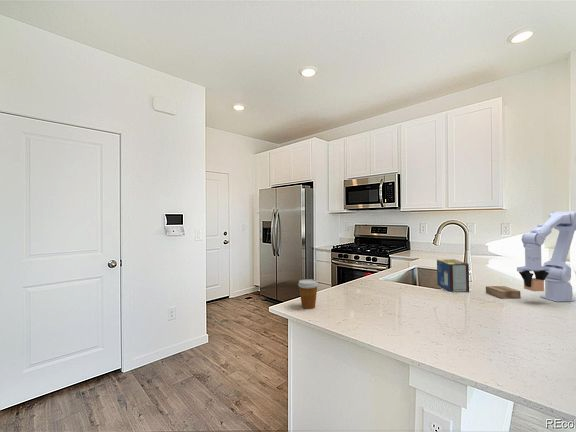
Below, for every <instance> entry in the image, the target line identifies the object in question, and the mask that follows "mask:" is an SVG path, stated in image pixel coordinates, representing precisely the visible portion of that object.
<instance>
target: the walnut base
mask: <svg viewBox="0 0 576 432" xmlns="http://www.w3.org/2000/svg"><path fill="white" fill-rule="evenodd" d="M485 294H487V295H490V296H492V297H495V298H498V299H500V300H501V299H502V300H506V299H507V300H509V299H511V300H512V299H521V298H522V297H521V290H518V289H514V288H511V287H508V286H507V285H506V286H505V285H486V286H485Z"/></svg>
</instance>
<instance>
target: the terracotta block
mask: <svg viewBox="0 0 576 432" xmlns="http://www.w3.org/2000/svg"><path fill="white" fill-rule="evenodd" d="M523 289H524V290H527V291H531V292H545V280H540V279H536V277H532V280H531V287H527V286H525V283H524V282H523Z"/></svg>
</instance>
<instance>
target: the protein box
mask: <svg viewBox="0 0 576 432" xmlns="http://www.w3.org/2000/svg"><path fill="white" fill-rule="evenodd" d="M469 265H470V264H469V263H468V262H464V261H460V260H457V259H436V275H437V276H436V277H437V279H436V281H437V286H439V287H440V288H442V289H444V290H445V291H447V292H450V293H470V266H469Z"/></svg>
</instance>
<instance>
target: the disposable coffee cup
mask: <svg viewBox="0 0 576 432" xmlns="http://www.w3.org/2000/svg"><path fill="white" fill-rule="evenodd" d="M297 286H298V288H299V295H300V301H301V302H300V303H301V307H302V308H303V309H304V310H305V309H306V310H311V309H315V308H316V304H317V303H316V302H317V294H318V286H319V283H318V280H316V279H309V278H307V279H300V280H299V281H298V283H297Z"/></svg>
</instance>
